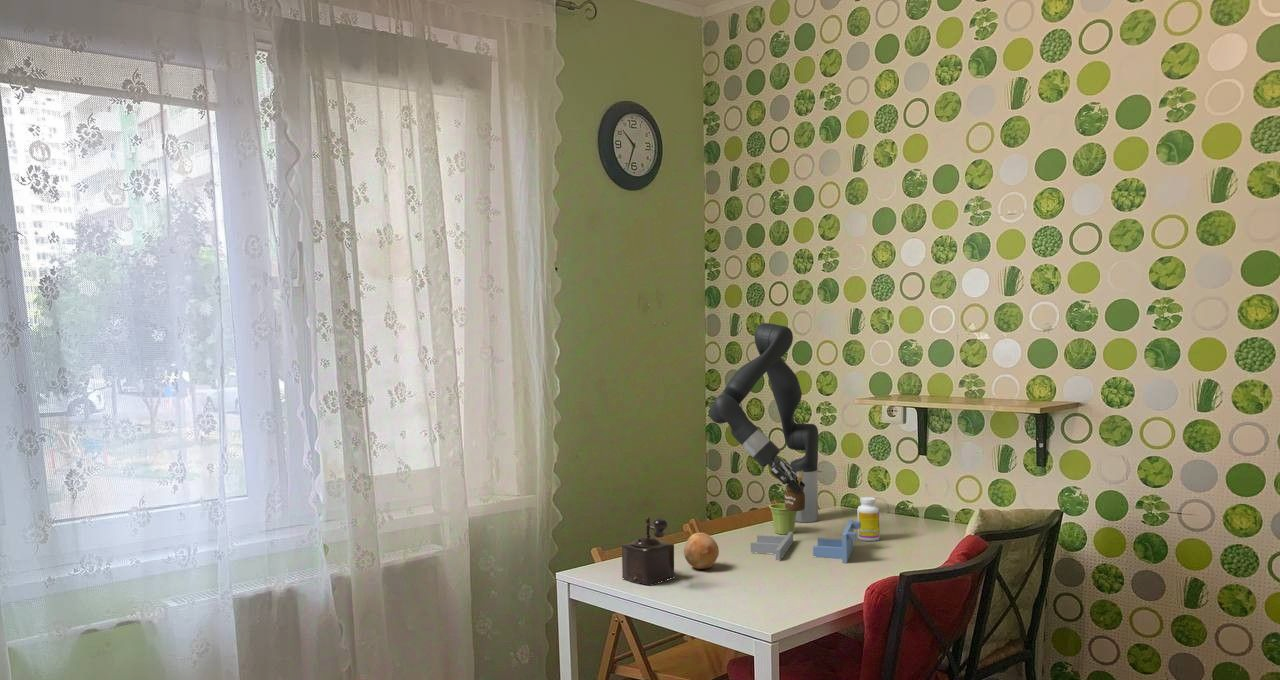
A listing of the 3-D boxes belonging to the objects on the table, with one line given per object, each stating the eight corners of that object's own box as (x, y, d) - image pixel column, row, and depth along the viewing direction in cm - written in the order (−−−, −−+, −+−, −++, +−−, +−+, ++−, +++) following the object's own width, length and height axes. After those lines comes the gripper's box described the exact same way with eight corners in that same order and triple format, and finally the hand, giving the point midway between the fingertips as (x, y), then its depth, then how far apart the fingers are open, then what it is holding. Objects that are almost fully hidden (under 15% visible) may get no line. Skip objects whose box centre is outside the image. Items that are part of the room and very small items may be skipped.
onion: (726, 568, 256) (726, 532, 256) (701, 575, 249) (700, 538, 249) (702, 562, 263) (701, 527, 263) (676, 568, 257) (676, 533, 256)
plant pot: (774, 528, 304) (774, 502, 304) (802, 530, 300) (802, 504, 300) (765, 534, 296) (765, 507, 296) (794, 537, 292) (793, 509, 291)
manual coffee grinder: (619, 579, 247) (617, 513, 246) (647, 571, 254) (646, 506, 254) (661, 590, 236) (659, 520, 235) (689, 581, 244) (688, 514, 243)
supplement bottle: (881, 541, 283) (881, 500, 283) (860, 541, 283) (859, 500, 283) (876, 536, 290) (876, 496, 290) (855, 536, 290) (855, 496, 290)
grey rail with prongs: (746, 558, 266) (745, 548, 266) (762, 539, 289) (761, 530, 289) (779, 560, 263) (779, 550, 263) (793, 541, 286) (793, 531, 286)
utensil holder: (796, 506, 277) (796, 466, 277) (809, 510, 272) (809, 469, 271) (780, 508, 275) (780, 468, 274) (793, 512, 269) (793, 471, 269)
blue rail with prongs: (811, 560, 262) (810, 532, 262) (820, 544, 281) (819, 518, 281) (855, 563, 258) (854, 535, 258) (861, 546, 277) (861, 520, 277)
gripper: (764, 443, 268) (806, 485, 265) (774, 436, 282) (814, 476, 278) (747, 460, 270) (788, 503, 267) (757, 453, 284) (797, 493, 280)
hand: (801, 489), depth 272 cm, fingers closed on utensil holder, 5 cm apart
